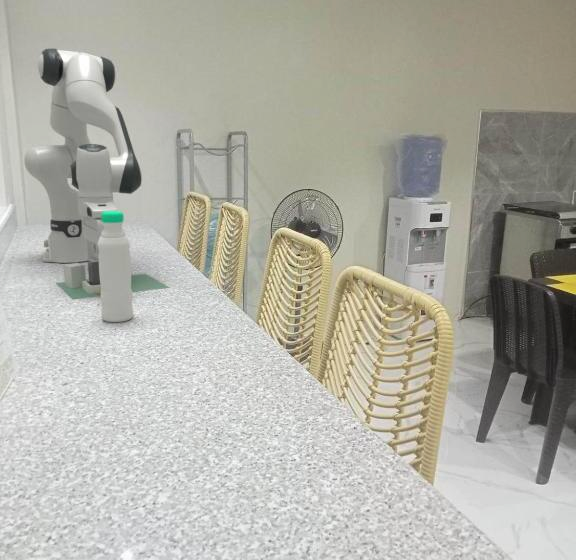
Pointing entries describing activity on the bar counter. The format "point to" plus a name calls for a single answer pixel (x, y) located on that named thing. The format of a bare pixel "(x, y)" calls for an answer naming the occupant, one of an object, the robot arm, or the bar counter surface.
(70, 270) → the plug
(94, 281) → the plug
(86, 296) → the board
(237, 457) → the bar counter surface
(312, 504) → the bar counter surface
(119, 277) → the water bottle
